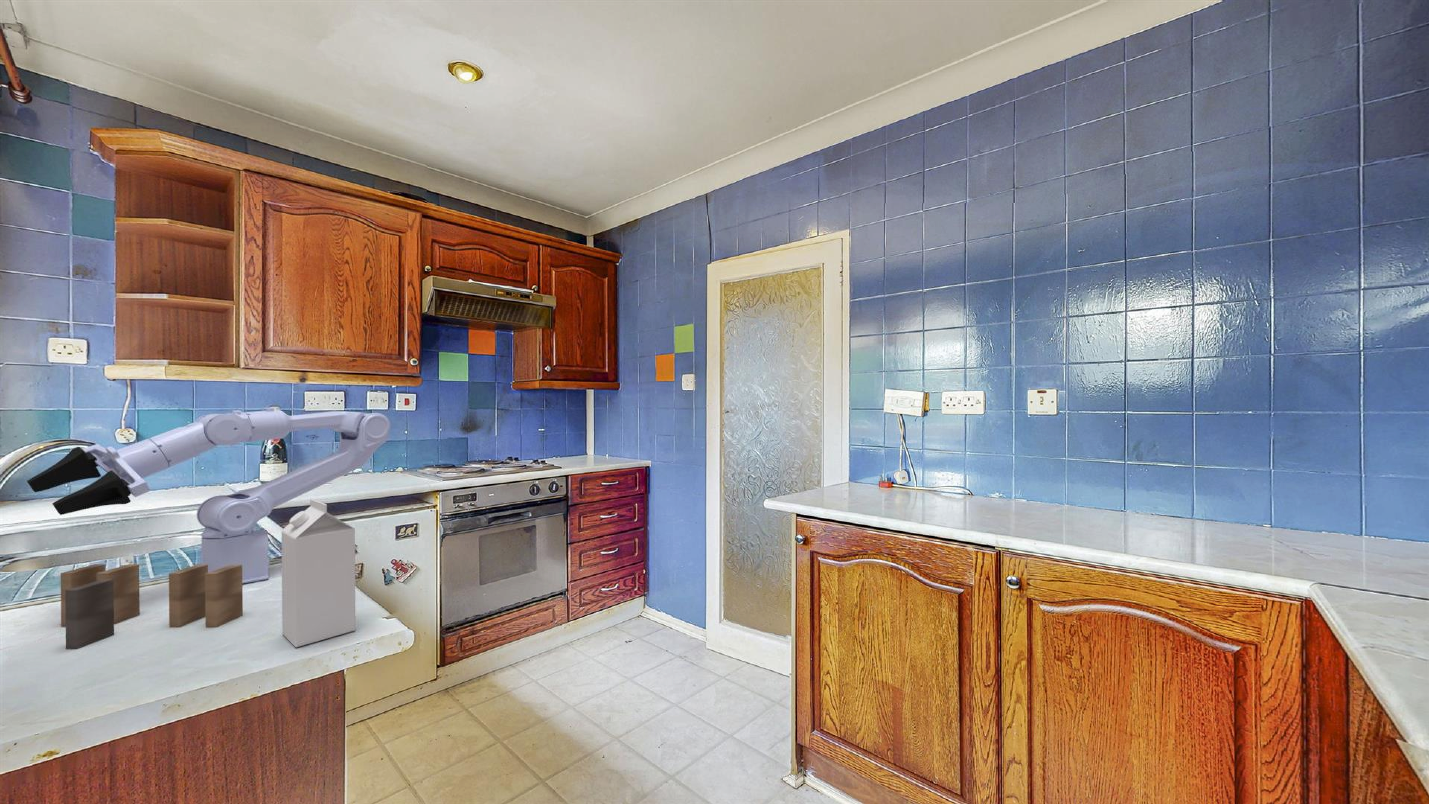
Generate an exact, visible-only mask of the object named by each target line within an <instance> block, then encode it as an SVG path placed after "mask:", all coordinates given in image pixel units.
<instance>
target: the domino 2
mask: <svg viewBox="0 0 1429 804" xmlns="http://www.w3.org/2000/svg"><path fill="white" fill-rule="evenodd" d="M102 579H114V625H116V624H120V623H122V622H124V621H127V620H130V619H132V618H135V617H138V616H140V613H141V612H140V611H141V610H140V605H141V604H140V564H137V563H134V564H133V563H130V564H126V565H121V566H118V567H115V568H111V569H108V570H105V571H103V572H100V573H97V581H99V580H102Z"/></svg>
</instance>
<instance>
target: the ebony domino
mask: <svg viewBox="0 0 1429 804" xmlns="http://www.w3.org/2000/svg"><path fill="white" fill-rule="evenodd" d="M65 609H66V627H65V649H66V650H78V649H82V648H83V647H86V646H89V645H92V644H94V643H97V642H99V641H102V640H104V639H107V638H109V637H112V636H114V635H115V624H114V579H102V580H99V581H95V582H92V583H88V584H85V585H82V586H78V587H75V588H71V589H68V590H65Z"/></svg>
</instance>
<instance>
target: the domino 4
mask: <svg viewBox="0 0 1429 804" xmlns="http://www.w3.org/2000/svg"><path fill="white" fill-rule="evenodd" d="M243 597H244V596H243V584H242V565H230V566H227V567H224V568H221V569H218V570H215V571H212V572H209V573H206V574H205V616H206V617H205V628H215V629H216V628H218V627H220V626H223V625H225V624H227V623H229V622H231V621H234V620H236V619H238V618H240V617H243V616H244V614H243V611H244V610H243V605H244V604H243V603H244V602H243Z"/></svg>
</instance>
